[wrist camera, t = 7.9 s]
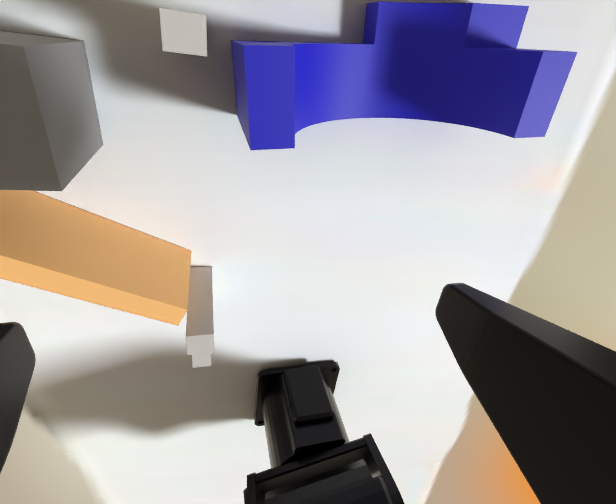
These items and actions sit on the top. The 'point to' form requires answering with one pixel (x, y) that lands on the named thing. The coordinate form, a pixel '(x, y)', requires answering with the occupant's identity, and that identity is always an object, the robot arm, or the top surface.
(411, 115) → the cable clip
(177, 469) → the top surface
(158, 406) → the top surface
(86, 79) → the gray rectangular block
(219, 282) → the top surface
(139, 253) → the door
